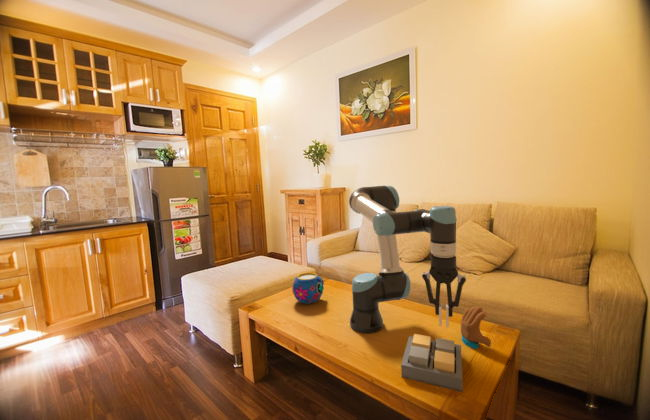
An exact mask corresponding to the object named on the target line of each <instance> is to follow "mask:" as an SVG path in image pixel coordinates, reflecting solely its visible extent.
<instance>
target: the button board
mask: <svg viewBox="0 0 650 420" xmlns="http://www.w3.org/2000/svg"><path fill="white" fill-rule="evenodd" d="M413 337H414V335H408V340H407V343H406V346H405V349H404V350H405V351H404V352H403V357H402V361H401V364H400V365H401V366H400V367H401V368H400V370H401V378H404V379H408V380H411V381H415V382H420V383H424V384H428V385H432V386H436V387H440V388H444V389H448V390H452V391H456V392H461V393H463V389H464V387H463V383H464V382H463V380H464V379H463V378H464V377H463V363H462V362H463V359H462V355H463V354H462V345H461V344H457V343H454V373H451V372H447V371H442V370H438V369H434V357H435V350H436V339H435V340H434V339H431V351H430V353H429V366H428V367H424V366H420V365H415V364H411V363H409V353H410V349H411V345H412V341H413Z"/></svg>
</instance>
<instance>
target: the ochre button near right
mask: <svg viewBox="0 0 650 420" xmlns="http://www.w3.org/2000/svg"><path fill="white" fill-rule="evenodd" d="M434 369H438V370H442V371H447V372H451V373H454V354H453V353H448V352H442V351H437V350H435V357H434Z"/></svg>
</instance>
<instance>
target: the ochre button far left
mask: <svg viewBox="0 0 650 420" xmlns="http://www.w3.org/2000/svg"><path fill="white" fill-rule="evenodd" d="M431 340H432V337H431V336H429V335H422V334H418V333H414V334H413V341H412V346H417V347H422V348H427V349H429V353H430V351H431Z"/></svg>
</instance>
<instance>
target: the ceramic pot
mask: <svg viewBox="0 0 650 420" xmlns="http://www.w3.org/2000/svg"><path fill="white" fill-rule="evenodd" d="M292 282H293V283H292V287H291V289H292V293H293V295H294V298H295V300H297V301H298V302H300V303H301V304H312V303H315V302H317V301H318V300H320V299H321V297H322V295H323V293H324V289H325V288H324V283H325V282H324V278H322V277H321V276H319V275H318V274H317V273H314V272H304V273H300V274H298V275H297V276H296V277H295V279H294V280H293V281H292Z"/></svg>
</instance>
